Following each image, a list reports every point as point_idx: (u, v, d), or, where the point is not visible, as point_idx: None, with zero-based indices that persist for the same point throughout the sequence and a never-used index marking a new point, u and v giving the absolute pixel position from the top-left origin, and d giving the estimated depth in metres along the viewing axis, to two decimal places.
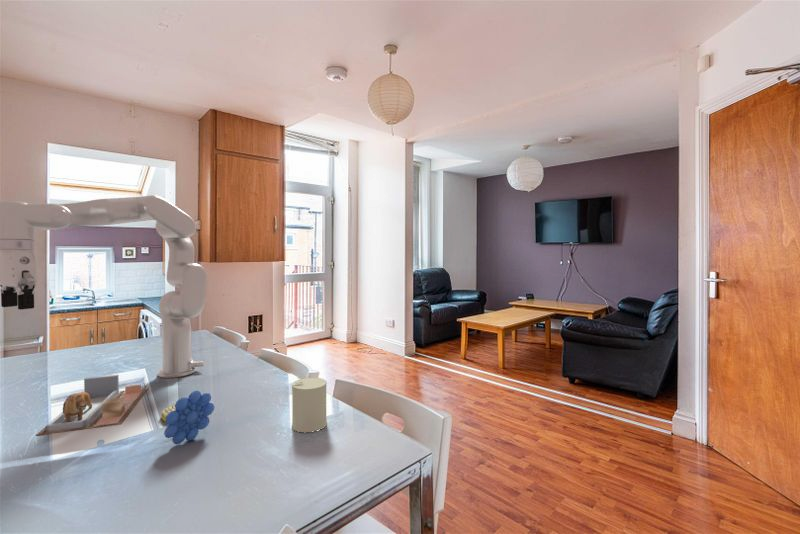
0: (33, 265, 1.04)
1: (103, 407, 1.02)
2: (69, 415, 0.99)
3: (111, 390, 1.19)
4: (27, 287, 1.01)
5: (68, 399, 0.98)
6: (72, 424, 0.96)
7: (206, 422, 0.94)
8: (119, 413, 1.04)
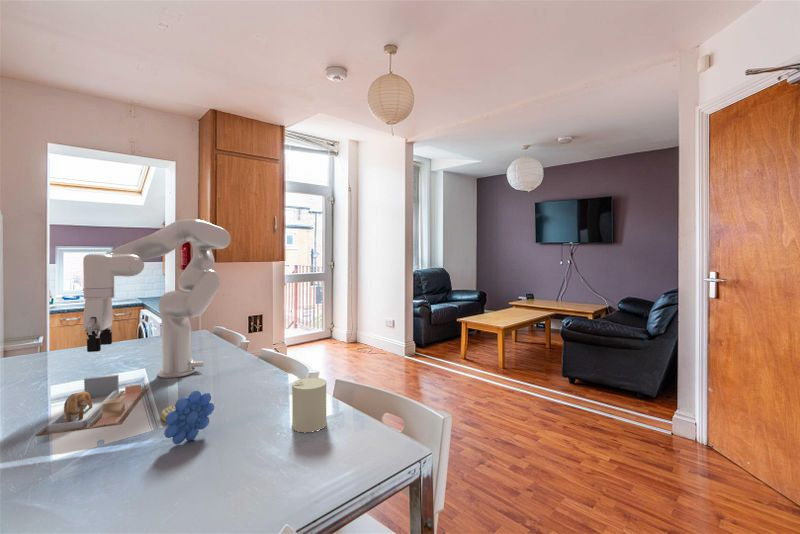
0: None
1: (103, 407, 1.02)
2: (70, 414, 0.99)
3: (111, 390, 1.19)
4: None
5: (69, 398, 0.98)
6: (72, 424, 0.96)
7: (206, 422, 0.94)
8: (119, 413, 1.04)
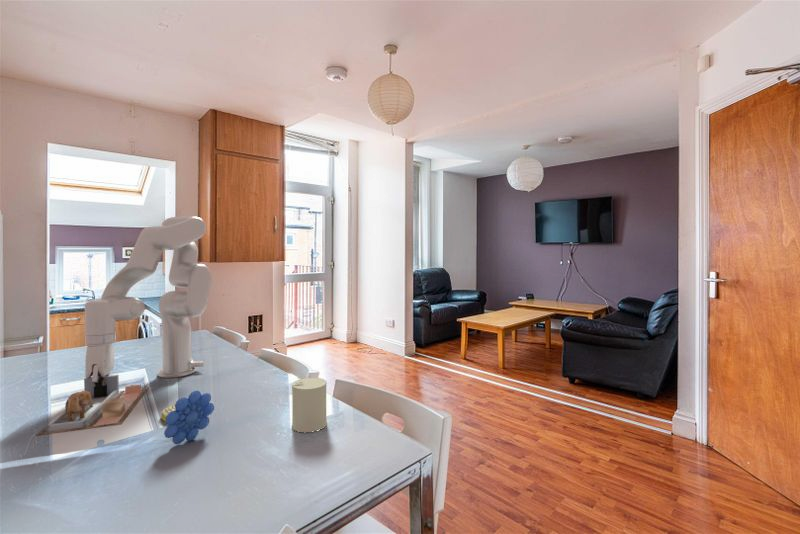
0: None
1: (103, 407, 1.02)
2: (72, 413, 1.00)
3: (111, 390, 1.19)
4: None
5: (71, 397, 0.99)
6: (72, 424, 0.96)
7: (206, 422, 0.94)
8: (119, 413, 1.04)
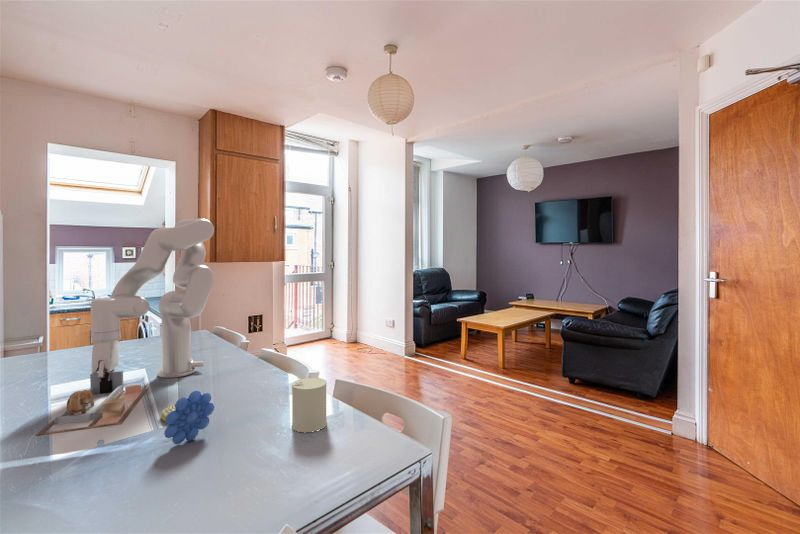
0: None
1: (103, 407, 1.02)
2: (73, 412, 1.00)
3: (116, 385, 1.24)
4: None
5: (72, 396, 1.00)
6: (80, 416, 1.01)
7: (206, 422, 0.94)
8: (119, 413, 1.04)
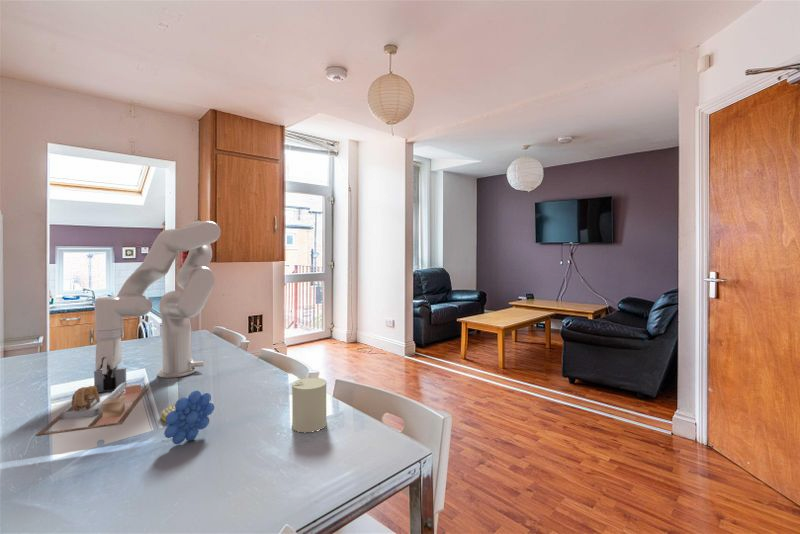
0: None
1: (103, 407, 1.02)
2: (78, 407, 1.03)
3: (119, 382, 1.27)
4: None
5: (77, 392, 1.02)
6: (85, 412, 1.04)
7: (206, 422, 0.94)
8: (119, 413, 1.04)
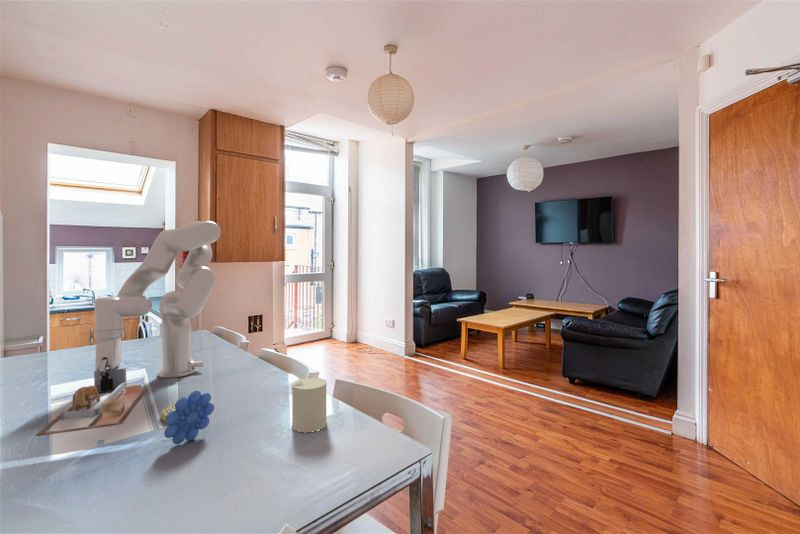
0: None
1: (103, 407, 1.02)
2: (78, 407, 1.04)
3: (119, 382, 1.27)
4: None
5: (77, 392, 1.03)
6: (85, 412, 1.04)
7: (206, 422, 0.94)
8: (119, 413, 1.04)
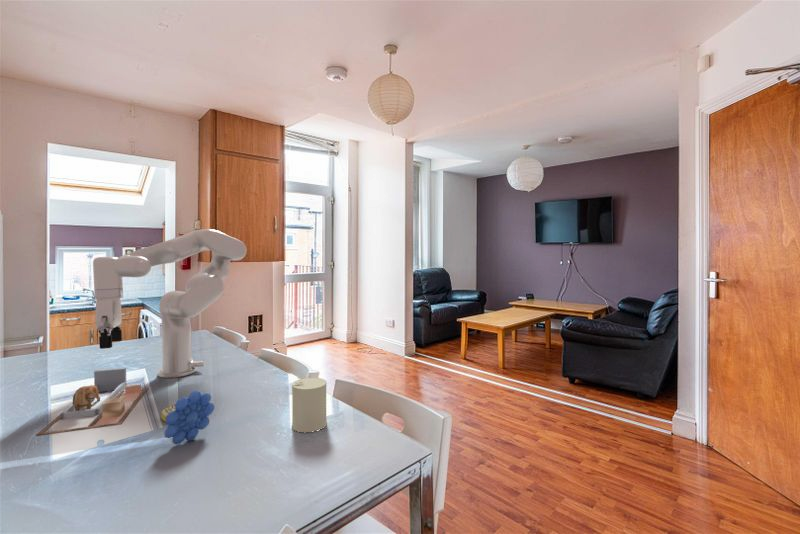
0: None
1: (103, 407, 1.02)
2: (79, 406, 1.04)
3: (119, 382, 1.27)
4: None
5: (78, 391, 1.03)
6: (85, 412, 1.04)
7: (206, 422, 0.94)
8: (119, 413, 1.04)
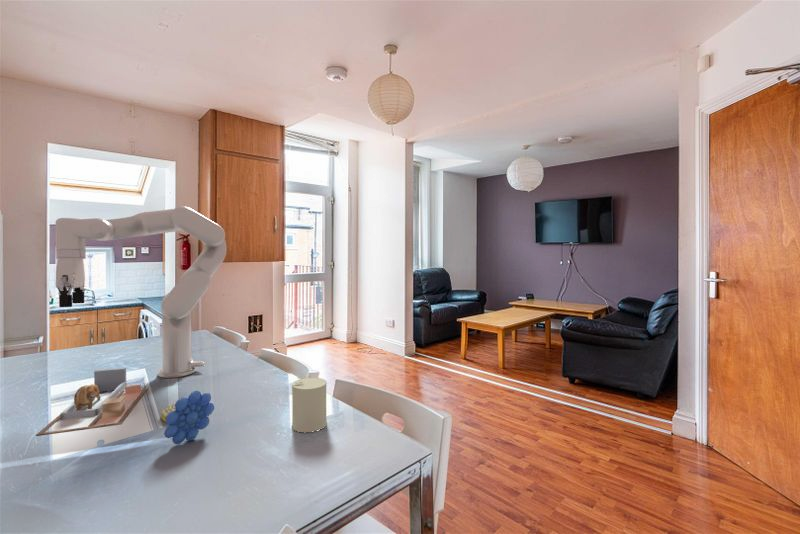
0: None
1: (103, 407, 1.02)
2: (80, 405, 1.05)
3: (119, 382, 1.27)
4: None
5: (79, 390, 1.04)
6: (85, 412, 1.04)
7: (206, 422, 0.94)
8: (119, 413, 1.04)
